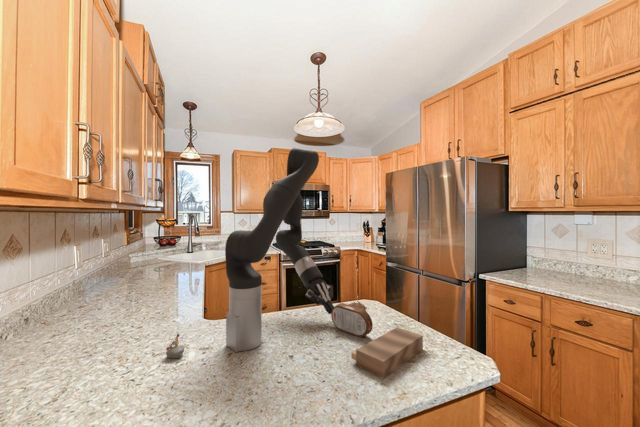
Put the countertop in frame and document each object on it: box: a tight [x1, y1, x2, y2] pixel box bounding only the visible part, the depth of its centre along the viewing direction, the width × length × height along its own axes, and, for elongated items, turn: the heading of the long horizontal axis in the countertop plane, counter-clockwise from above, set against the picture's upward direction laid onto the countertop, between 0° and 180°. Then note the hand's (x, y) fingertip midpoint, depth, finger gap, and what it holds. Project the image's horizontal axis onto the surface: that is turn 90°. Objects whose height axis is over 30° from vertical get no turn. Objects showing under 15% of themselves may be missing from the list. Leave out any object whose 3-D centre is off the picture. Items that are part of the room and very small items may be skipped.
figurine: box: [165, 333, 185, 360], centre depth 75 cm, size 5×4×6 cm
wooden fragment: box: [347, 300, 367, 312], centre depth 109 cm, size 26×11×1 cm, turn 155°
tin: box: [330, 302, 374, 338], centre depth 89 cm, size 15×3×8 cm, turn 47°
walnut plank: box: [350, 326, 424, 380], centre depth 74 cm, size 20×10×4 cm, turn 134°
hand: (332, 312), depth 95 cm, fingers closed
